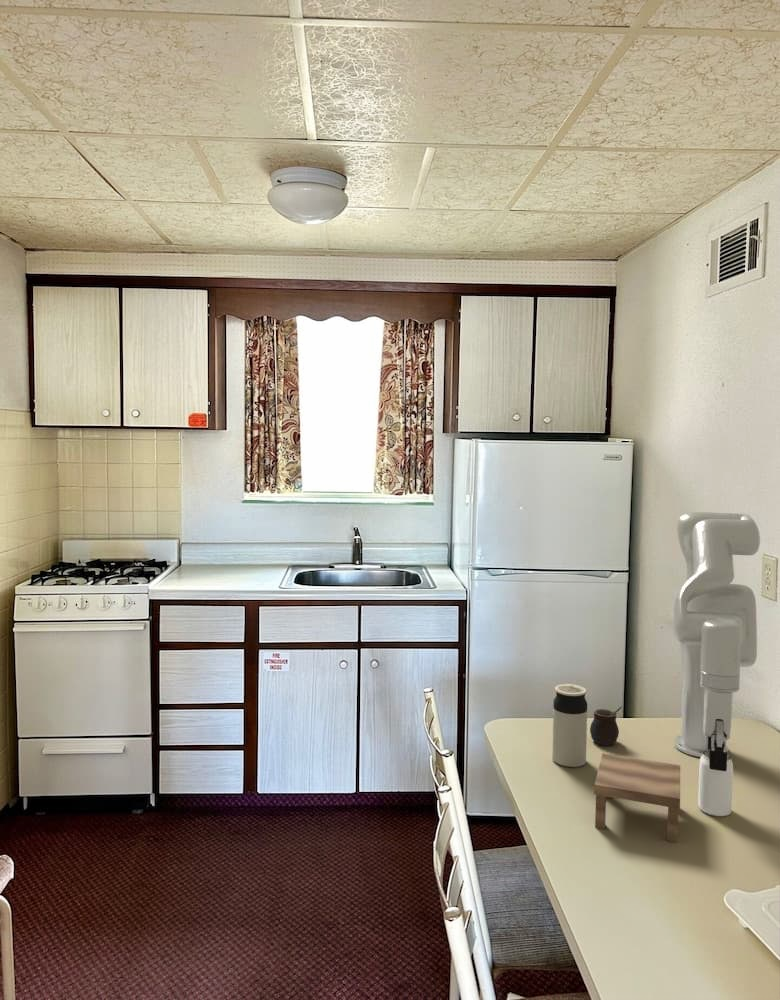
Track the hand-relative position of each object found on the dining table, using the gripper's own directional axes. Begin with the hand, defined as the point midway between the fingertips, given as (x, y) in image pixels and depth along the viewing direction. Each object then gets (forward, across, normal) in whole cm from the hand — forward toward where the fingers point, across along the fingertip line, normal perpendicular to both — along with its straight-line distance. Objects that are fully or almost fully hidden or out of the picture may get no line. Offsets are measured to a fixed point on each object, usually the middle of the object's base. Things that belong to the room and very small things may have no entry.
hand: (716, 760), depth 154 cm
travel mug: (+11, -14, -32) cm, 37 cm away
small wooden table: (+11, +8, -15) cm, 20 cm away
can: (+11, -1, 0) cm, 11 cm away
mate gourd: (+10, -29, -25) cm, 40 cm away
